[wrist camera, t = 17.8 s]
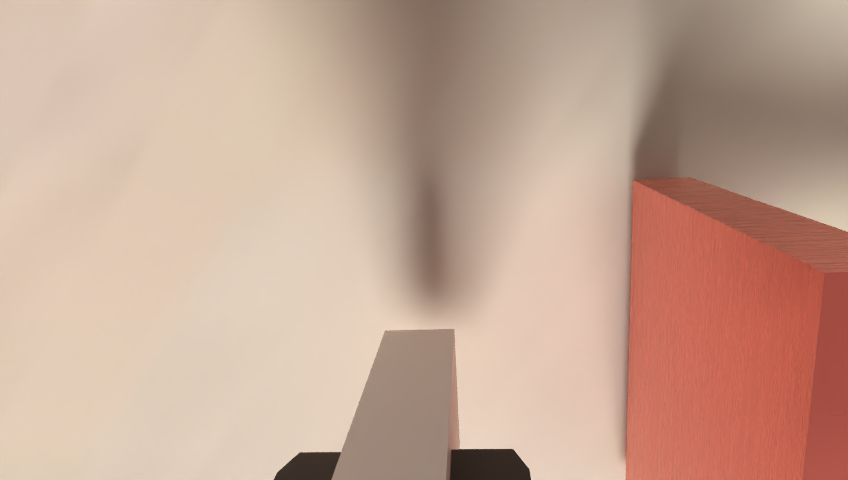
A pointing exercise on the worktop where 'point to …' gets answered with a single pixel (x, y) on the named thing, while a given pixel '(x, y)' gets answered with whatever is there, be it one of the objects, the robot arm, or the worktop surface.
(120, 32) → the worktop surface
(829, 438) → the lever
